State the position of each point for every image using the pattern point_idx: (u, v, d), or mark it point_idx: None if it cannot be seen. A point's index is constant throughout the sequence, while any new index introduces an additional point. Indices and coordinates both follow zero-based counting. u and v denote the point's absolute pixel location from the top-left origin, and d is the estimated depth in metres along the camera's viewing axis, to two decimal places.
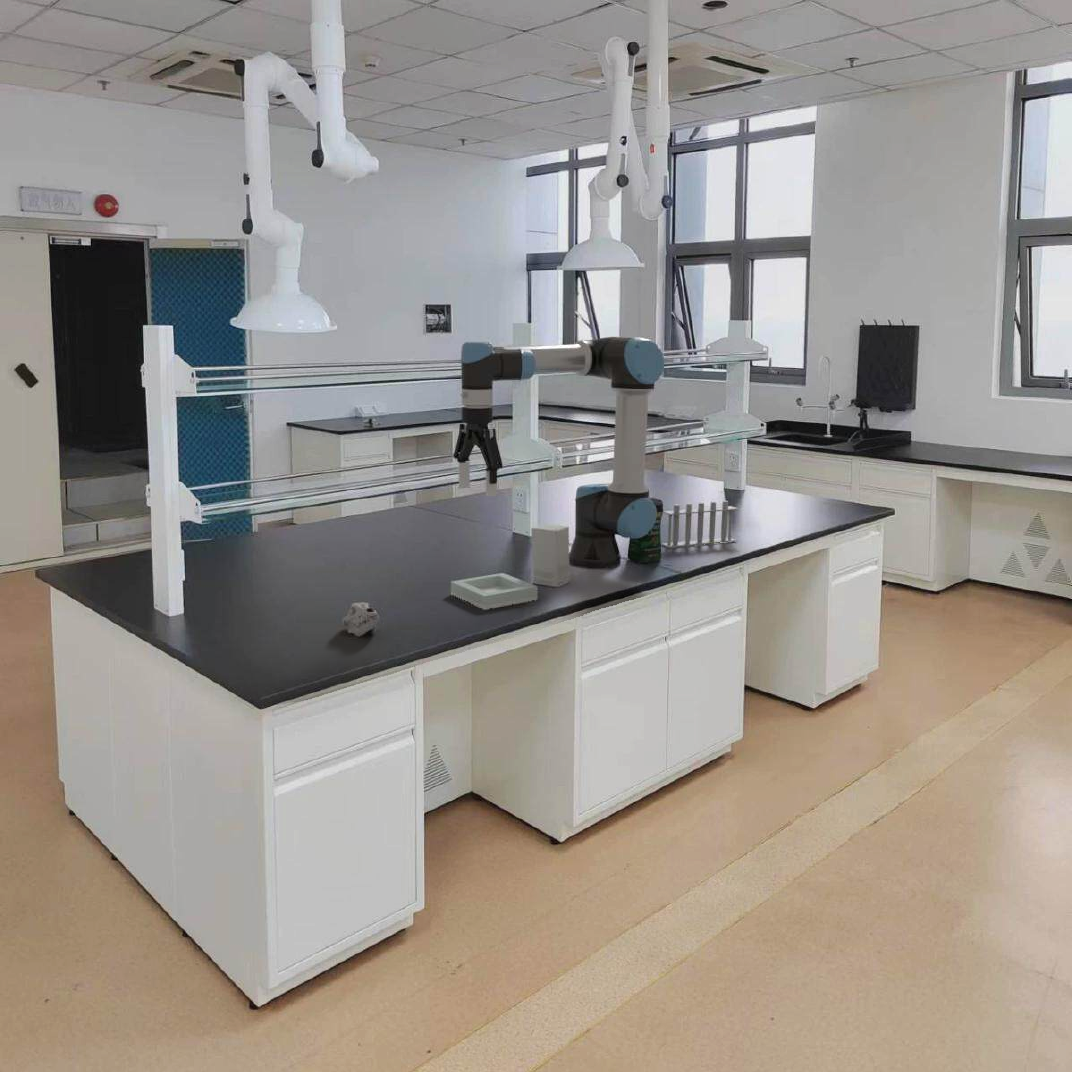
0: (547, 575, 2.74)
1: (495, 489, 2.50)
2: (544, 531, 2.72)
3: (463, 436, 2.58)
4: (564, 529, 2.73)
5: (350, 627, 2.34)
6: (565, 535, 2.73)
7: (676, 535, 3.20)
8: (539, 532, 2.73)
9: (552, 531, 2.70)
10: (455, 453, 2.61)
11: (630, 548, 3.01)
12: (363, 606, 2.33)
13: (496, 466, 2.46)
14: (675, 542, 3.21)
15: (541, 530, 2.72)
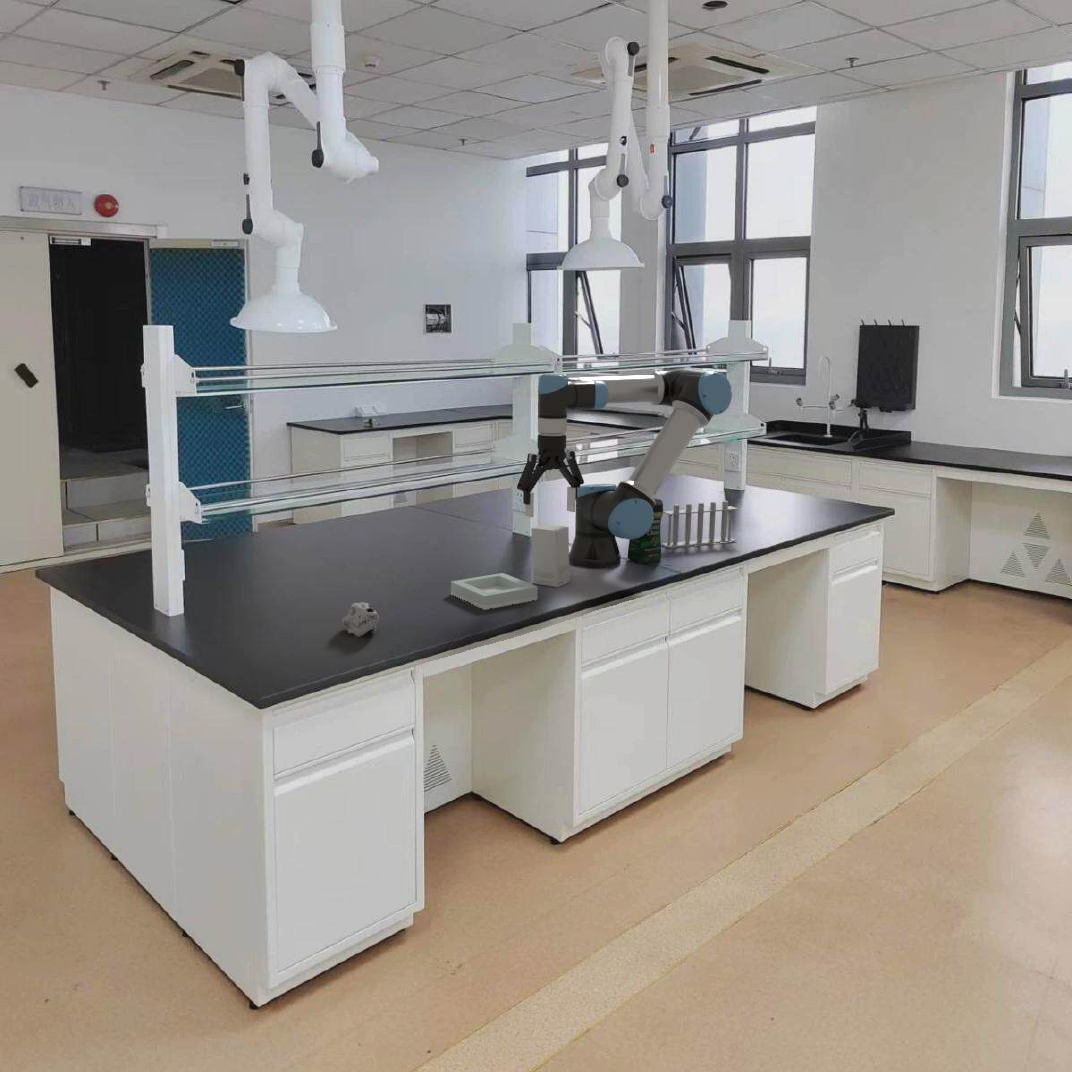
0: (547, 575, 2.74)
1: (530, 510, 2.68)
2: (544, 531, 2.72)
3: (569, 462, 2.74)
4: (564, 529, 2.73)
5: (350, 627, 2.34)
6: (565, 535, 2.73)
7: (676, 535, 3.20)
8: (539, 532, 2.73)
9: (552, 531, 2.70)
10: None
11: (630, 548, 3.01)
12: (363, 606, 2.33)
13: (518, 487, 2.66)
14: (675, 542, 3.21)
15: (541, 530, 2.72)
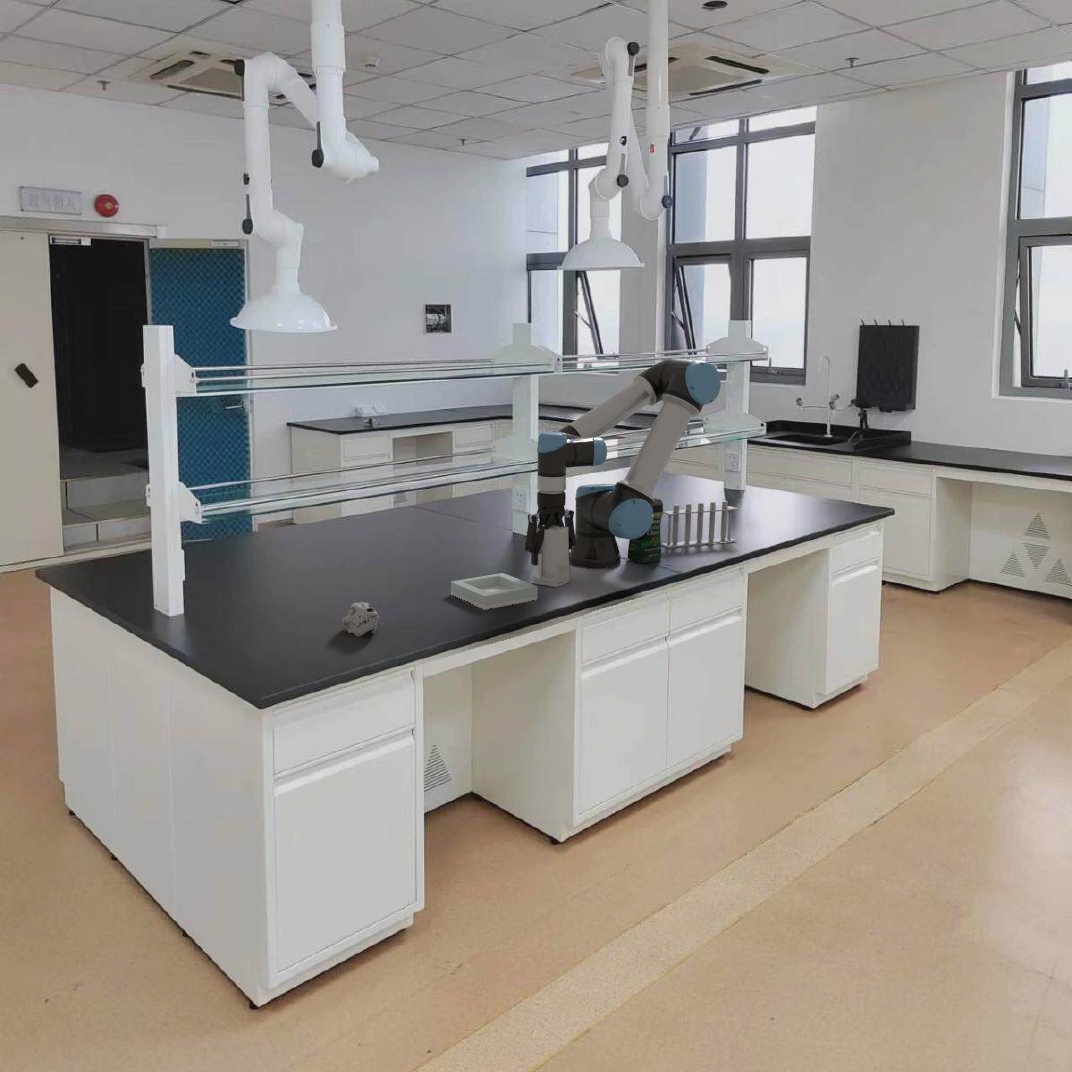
0: (547, 575, 2.74)
1: (538, 571, 2.73)
2: (544, 531, 2.72)
3: (566, 521, 2.77)
4: (564, 529, 2.73)
5: (350, 627, 2.34)
6: (564, 535, 2.73)
7: (676, 535, 3.20)
8: None
9: (552, 531, 2.70)
10: None
11: (630, 548, 3.01)
12: (363, 606, 2.33)
13: (526, 549, 2.72)
14: (675, 542, 3.21)
15: None
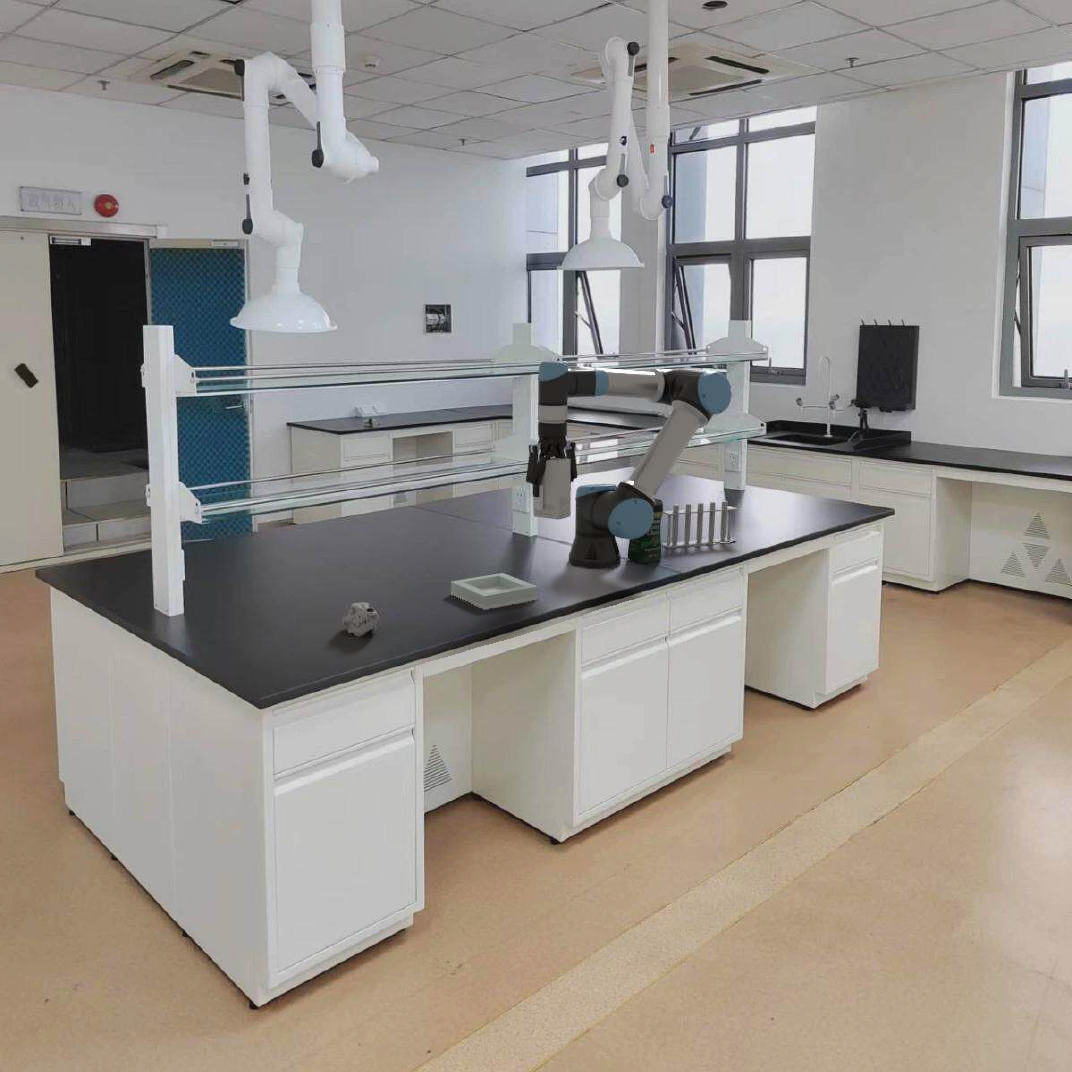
0: (548, 508, 2.70)
1: (539, 503, 2.69)
2: None
3: (567, 453, 2.73)
4: (566, 460, 2.69)
5: (350, 627, 2.34)
6: (566, 467, 2.69)
7: (675, 535, 3.20)
8: None
9: (553, 462, 2.66)
10: None
11: (630, 548, 3.01)
12: (363, 606, 2.33)
13: (527, 481, 2.68)
14: (674, 542, 3.21)
15: None
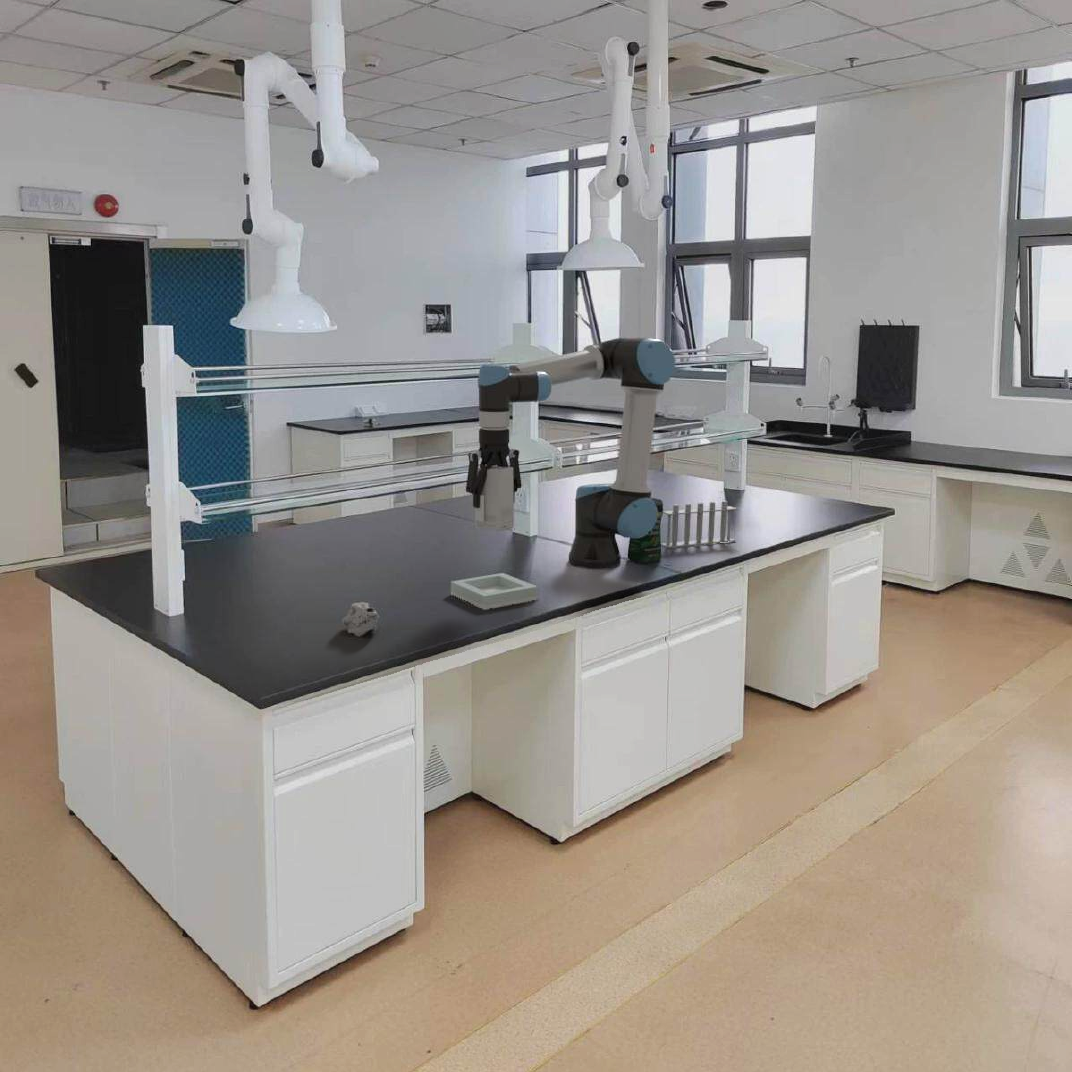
0: (489, 519, 2.56)
1: (480, 514, 2.56)
2: None
3: (510, 461, 2.60)
4: (508, 469, 2.55)
5: (350, 627, 2.34)
6: (509, 476, 2.56)
7: (675, 535, 3.20)
8: None
9: (494, 470, 2.53)
10: None
11: (630, 548, 3.01)
12: (363, 606, 2.33)
13: (467, 490, 2.54)
14: (674, 542, 3.21)
15: None
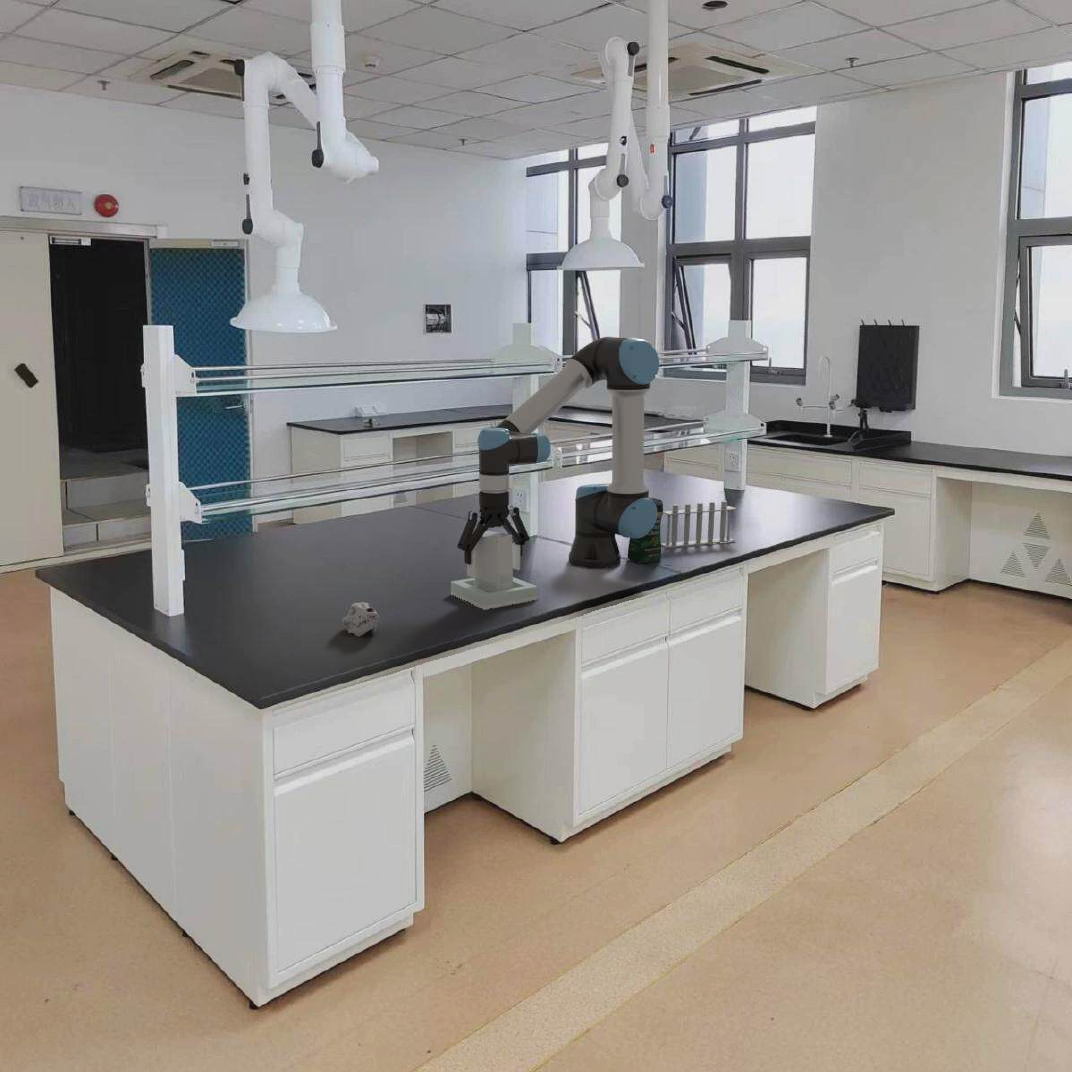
0: (489, 585, 2.60)
1: (471, 570, 2.57)
2: (485, 539, 2.58)
3: (513, 518, 2.63)
4: (506, 537, 2.59)
5: (350, 627, 2.34)
6: (507, 543, 2.59)
7: (675, 535, 3.20)
8: (480, 539, 2.59)
9: (493, 539, 2.56)
10: None
11: (630, 548, 3.01)
12: (363, 606, 2.33)
13: (458, 546, 2.56)
14: (674, 542, 3.21)
15: (482, 537, 2.58)
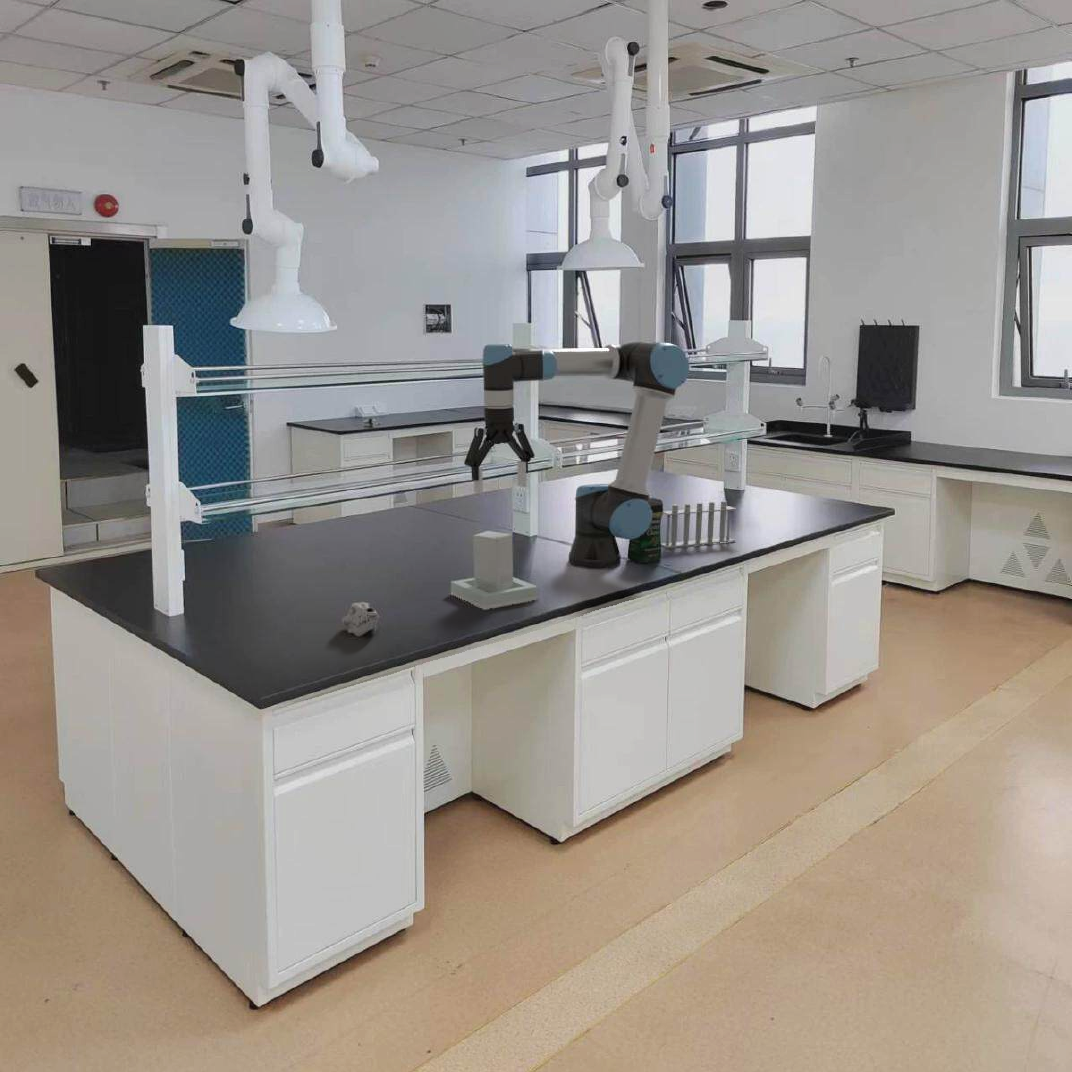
0: (489, 585, 2.60)
1: (479, 486, 2.60)
2: (485, 539, 2.58)
3: (518, 435, 2.66)
4: (506, 537, 2.59)
5: (350, 627, 2.34)
6: (507, 543, 2.59)
7: (674, 535, 3.20)
8: (480, 539, 2.59)
9: (493, 539, 2.56)
10: None
11: (630, 548, 3.01)
12: (363, 606, 2.33)
13: (465, 463, 2.57)
14: (673, 542, 3.21)
15: (482, 537, 2.58)
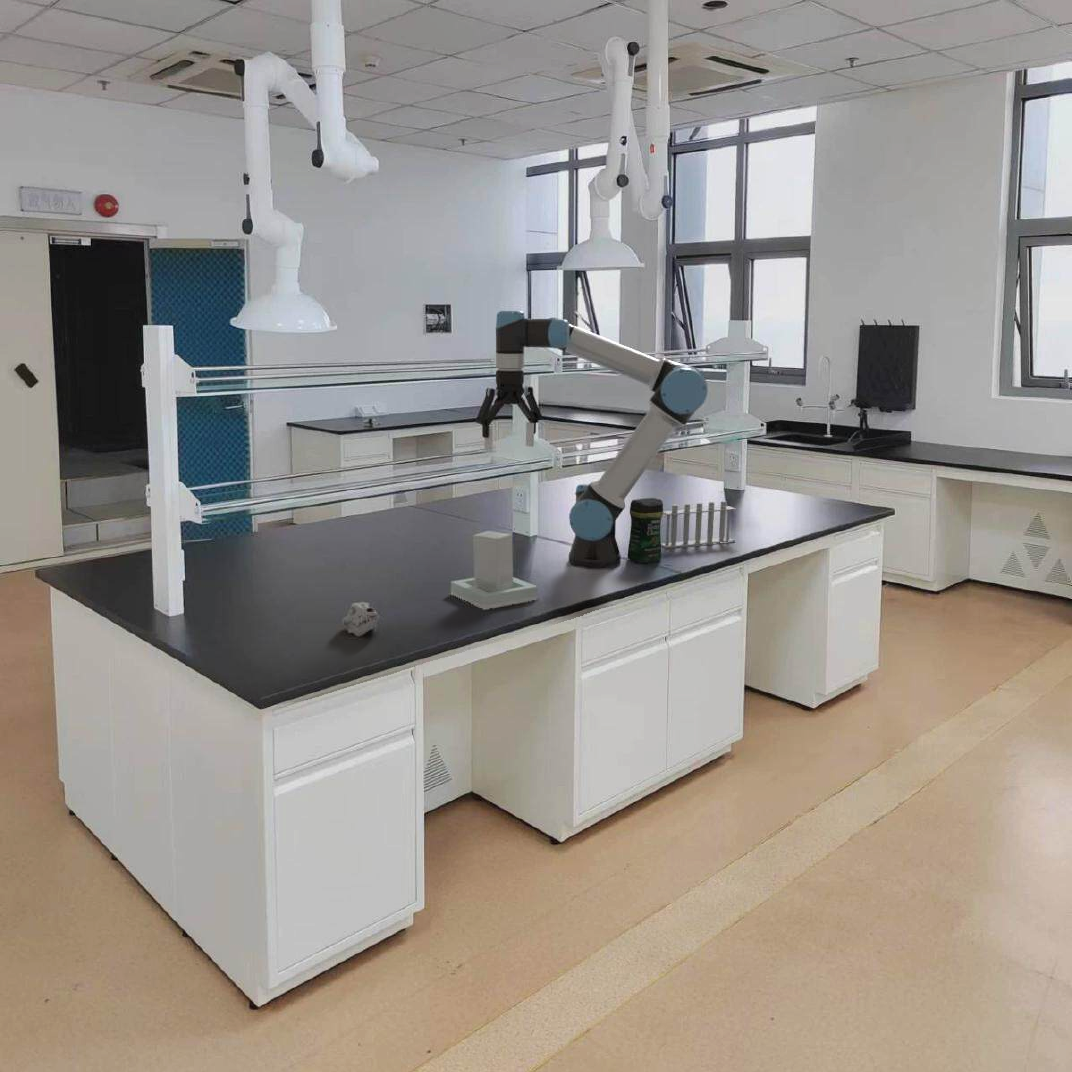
0: (489, 585, 2.60)
1: (489, 443, 2.77)
2: (485, 539, 2.58)
3: (527, 398, 2.83)
4: (506, 537, 2.59)
5: (350, 627, 2.34)
6: (507, 543, 2.59)
7: (674, 535, 3.20)
8: (480, 539, 2.59)
9: (493, 539, 2.56)
10: None
11: (630, 548, 3.01)
12: (363, 606, 2.33)
13: (477, 420, 2.75)
14: (673, 542, 3.21)
15: (482, 537, 2.58)
